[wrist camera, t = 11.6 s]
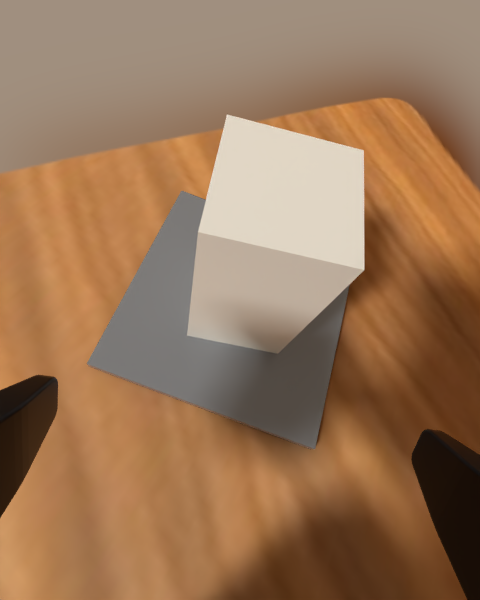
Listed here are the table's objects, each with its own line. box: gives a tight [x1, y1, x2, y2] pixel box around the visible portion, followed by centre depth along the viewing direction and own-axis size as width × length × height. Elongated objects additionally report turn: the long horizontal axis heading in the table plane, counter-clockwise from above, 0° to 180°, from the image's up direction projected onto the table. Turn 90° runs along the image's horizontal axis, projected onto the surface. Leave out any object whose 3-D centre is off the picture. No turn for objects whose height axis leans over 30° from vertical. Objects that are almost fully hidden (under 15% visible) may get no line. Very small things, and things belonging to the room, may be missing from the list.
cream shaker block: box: [187, 115, 364, 354], centre depth 15 cm, size 5×5×10 cm
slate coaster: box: [87, 191, 350, 449], centre depth 20 cm, size 12×12×1 cm
